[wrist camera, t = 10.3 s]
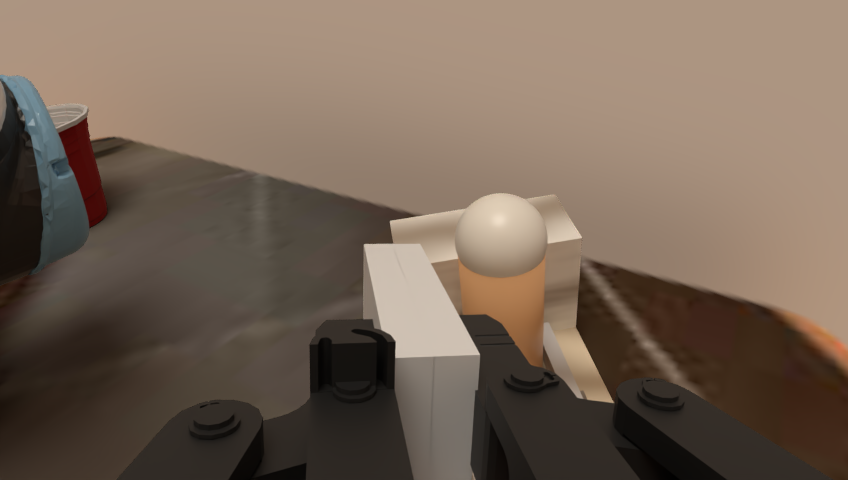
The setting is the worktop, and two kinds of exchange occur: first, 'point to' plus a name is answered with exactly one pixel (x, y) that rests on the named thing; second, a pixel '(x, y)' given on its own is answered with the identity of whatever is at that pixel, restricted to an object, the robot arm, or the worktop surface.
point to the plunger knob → (505, 267)
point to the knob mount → (561, 286)
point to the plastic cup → (80, 156)
